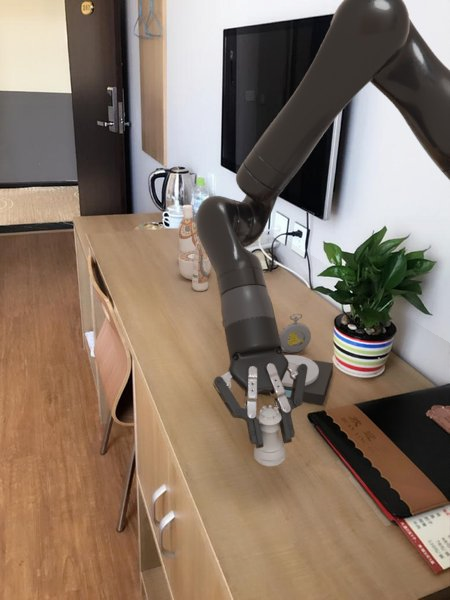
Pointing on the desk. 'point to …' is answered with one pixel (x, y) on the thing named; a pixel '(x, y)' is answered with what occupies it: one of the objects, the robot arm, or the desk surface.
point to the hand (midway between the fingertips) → (274, 444)
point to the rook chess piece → (270, 438)
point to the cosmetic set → (192, 252)
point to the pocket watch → (295, 336)
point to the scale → (309, 379)
